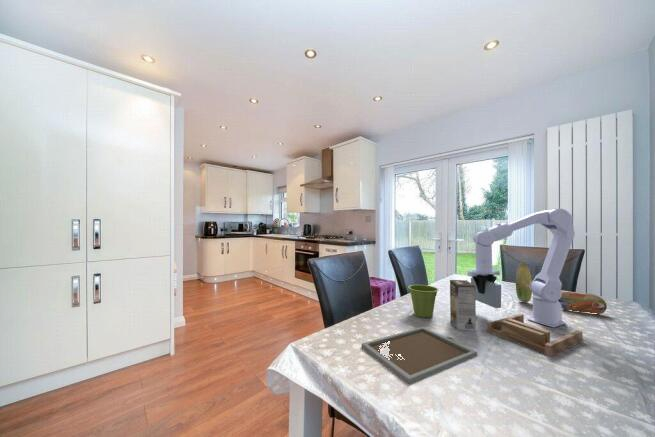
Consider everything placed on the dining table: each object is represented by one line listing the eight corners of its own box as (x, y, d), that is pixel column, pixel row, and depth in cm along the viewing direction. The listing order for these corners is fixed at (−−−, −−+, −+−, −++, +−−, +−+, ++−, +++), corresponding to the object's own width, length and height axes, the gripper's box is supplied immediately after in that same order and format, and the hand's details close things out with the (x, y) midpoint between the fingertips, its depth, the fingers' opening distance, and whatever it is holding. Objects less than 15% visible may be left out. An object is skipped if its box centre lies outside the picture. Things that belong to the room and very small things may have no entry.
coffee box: (449, 319, 94) (449, 279, 94) (467, 321, 92) (466, 280, 93) (457, 329, 85) (456, 284, 85) (477, 331, 83) (476, 285, 84)
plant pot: (440, 313, 101) (440, 286, 101) (436, 322, 91) (436, 293, 91) (411, 307, 107) (411, 283, 108) (405, 316, 97) (405, 288, 98)
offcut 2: (510, 331, 84) (510, 318, 84) (550, 345, 74) (550, 331, 74) (507, 332, 83) (507, 319, 83) (547, 347, 73) (546, 332, 73)
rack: (520, 321, 92) (519, 313, 92) (582, 341, 77) (582, 331, 77) (486, 331, 83) (486, 323, 83) (550, 356, 67) (550, 346, 67)
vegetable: (536, 304, 112) (535, 262, 113) (525, 305, 111) (524, 262, 112) (523, 300, 118) (522, 260, 119) (513, 301, 117) (512, 260, 118)
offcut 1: (505, 333, 82) (505, 320, 82) (545, 348, 72) (544, 333, 73) (501, 334, 81) (501, 321, 82) (541, 349, 72) (541, 334, 72)
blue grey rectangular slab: (475, 297, 104) (475, 277, 104) (501, 307, 92) (501, 284, 92) (470, 298, 103) (470, 277, 103) (495, 308, 92) (495, 285, 92)
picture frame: (361, 343, 73) (428, 324, 86) (361, 348, 73) (428, 329, 86) (408, 379, 56) (482, 349, 69) (409, 386, 56) (482, 354, 69)
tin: (557, 309, 105) (557, 290, 106) (555, 307, 108) (555, 289, 108) (607, 316, 98) (606, 296, 98) (603, 314, 100) (603, 294, 101)
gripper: (477, 262, 93) (477, 296, 93) (507, 261, 96) (507, 294, 96) (463, 259, 100) (463, 291, 99) (491, 258, 103) (492, 290, 103)
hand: (484, 293), depth 98 cm, fingers closed on blue grey rectangular slab, 2 cm apart
